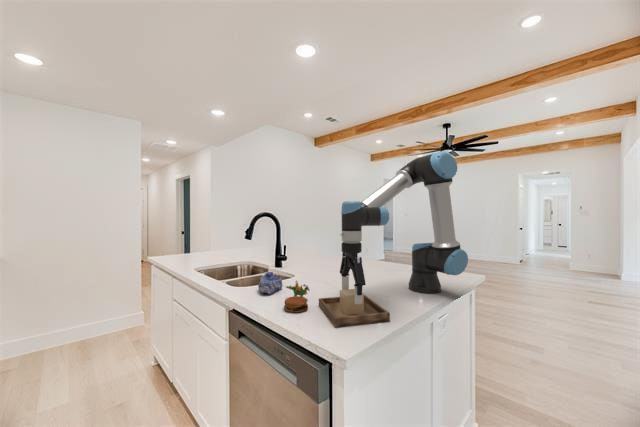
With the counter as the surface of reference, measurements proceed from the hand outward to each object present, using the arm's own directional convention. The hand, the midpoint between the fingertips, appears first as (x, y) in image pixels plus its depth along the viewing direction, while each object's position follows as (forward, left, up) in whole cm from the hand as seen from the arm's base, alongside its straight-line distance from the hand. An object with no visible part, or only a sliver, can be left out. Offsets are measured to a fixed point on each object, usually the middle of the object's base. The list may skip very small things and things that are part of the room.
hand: (351, 298), depth 103 cm
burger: (+19, -10, -6) cm, 23 cm away
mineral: (+28, -37, -6) cm, 47 cm away
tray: (0, 0, -6) cm, 6 cm away
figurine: (+17, -22, -6) cm, 28 cm away
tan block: (0, 0, -5) cm, 5 cm away
